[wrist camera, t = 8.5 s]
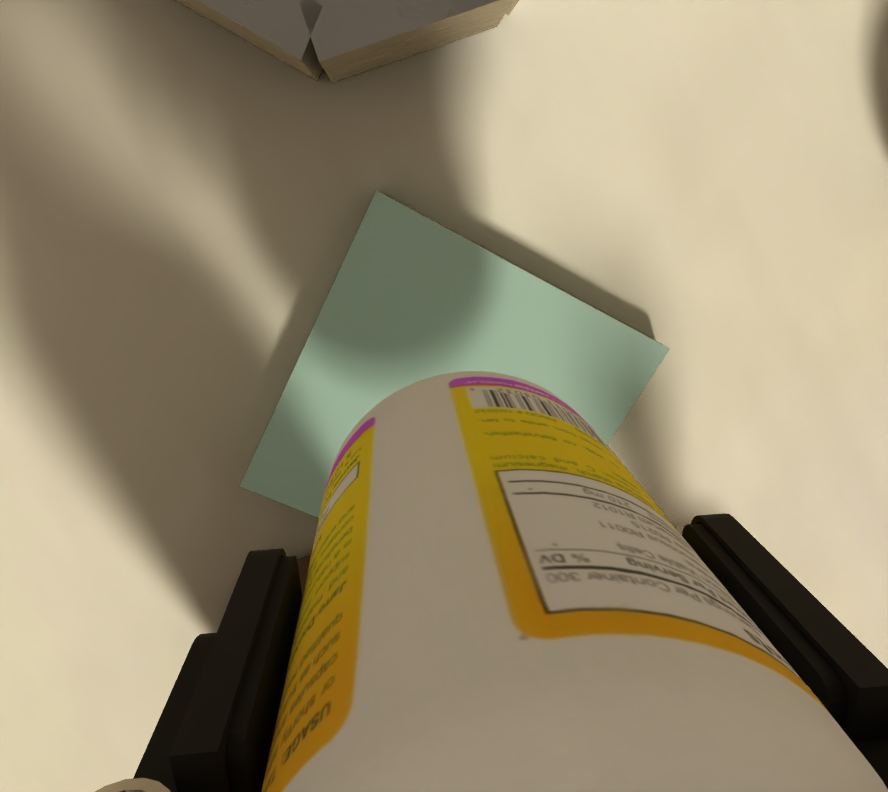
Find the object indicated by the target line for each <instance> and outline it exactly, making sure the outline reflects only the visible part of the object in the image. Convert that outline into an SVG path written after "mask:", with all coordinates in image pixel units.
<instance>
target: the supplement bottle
mask: <svg viewBox="0 0 888 792" xmlns="http://www.w3.org/2000/svg"><path fill="white" fill-rule="evenodd" d="M261 792H888V789H887V787H886V786H885V784H884V783H883V781H882V779H881V778H880V777H879V775H878V774H877V773H876V771H875V770H874V769H873V767H872V766H871V765H870V763H869V762H868V761H867V760H866V758H865V757H864V756H863V755H862V753H861V752H860V751H859V750H858V748H857V747H856V746H855V745H854V743H853V742H852V741H851V740H850V738H849V737H848V736H847V735H846V733H845V732H844V731H843V730H842V728H841V727H840V726H839V724H838V723H837V722H836V721H835V719H834V718H833V717H832V715H831V714H830V713H829V712H828V710H827V709H826V708H825V707H824V705H823V704H822V703H821V701H820V700H819V699H818V698H817V697H816V696H815V694H814V693H813V692H812V691H811V689H810V688H809V687H808V686H807V685H806V684H805V683H804V682H803V680H802V679H801V678H800V677H799V675H798V674H797V673H796V672H795V671H794V669H793V668H792V667H791V666H790V665H789V664H788V662H787V661H786V660H785V659H784V658H783V656H782V655H781V654H780V653H779V652H778V651H777V650H776V648H775V647H774V646H773V645H772V644H771V643H770V641H769V640H768V639H767V637H766V636H765V635H764V634H763V633H762V631H761V630H760V629H759V628H758V627H757V625H756V624H755V623H754V622H753V621H752V619H751V618H750V617H749V616H748V615H747V614H746V612H745V611H744V610H743V609H742V608H741V606H740V605H739V604H738V603H737V602H736V600H735V599H734V598H733V597H732V596H731V594H730V593H729V592H728V591H727V590H726V588H725V587H724V586H723V585H722V584H721V582H720V581H719V580H718V579H717V578H716V577H715V575H714V574H713V573H712V572H711V571H710V569H709V568H708V567H707V566H706V565H705V563H704V562H703V561H702V560H701V559H700V557H699V556H698V555H697V553H696V552H695V551H694V550H693V549H692V547H691V546H690V545H689V544H688V543H687V542H686V540H685V539H684V538H683V536H682V535H681V534H680V533H679V532H678V530H677V529H676V528H675V527H674V526H673V524H672V523H671V522H670V521H669V520H668V518H667V517H666V516H665V515H664V514H663V512H662V511H661V510H660V509H659V507H658V506H657V505H656V504H655V502H654V501H653V500H652V499H651V497H650V496H649V495H648V494H647V493H646V491H645V490H644V489H643V488H642V487H641V486H640V485H639V483H638V482H637V481H636V480H635V479H634V477H633V476H632V475H631V473H630V472H629V471H628V470H627V468H626V467H625V466H624V465H623V464H622V462H621V461H620V460H619V459H618V458H617V456H616V455H615V454H614V453H613V452H612V451H611V449H610V448H609V447H608V446H607V445H606V443H605V442H604V441H603V440H602V439H601V437H600V436H599V435H598V434H597V433H596V432H595V431H594V429H593V428H592V427H591V426H590V425H589V424H588V423H587V422H586V421H585V420H584V419H583V418H582V417H581V416H580V415H579V414H578V413H577V412H576V411H575V410H574V409H573V408H572V407H570V406H569V405H568V404H567V403H566V402H564V401H563V400H562V399H560V398H559V397H557V396H556V395H555V394H553V393H552V392H550V391H548V390H546V389H545V388H543V387H541V386H539V385H537V384H534V383H532V382H529V381H527V380H524V379H521V378H518V377H514V376H510V375H506V374H500V373H495V372H485V371H462V372H453V373H446V374H441V375H437V376H433V377H430V378H426V379H423V380H420V381H417V382H415V383H413V384H410V385H408V386H406V387H404V388H402V389H400V390H398V391H396V392H395V393H393V394H391V395H390V396H388V397H387V398H385V399H384V400H382V401H381V402H380V403H378V404H377V405H376V406H375V407H374V408H372V409H371V410H370V411H369V412H368V413H367V414H366V415H365V416H364V417H363V418H362V419H361V420H360V421H359V422H358V423H357V424H356V426H355V427H354V428H353V429H352V431H351V432H350V433H349V435H348V436H347V438H346V439H345V441H344V442H343V444H342V446H341V448H340V450H339V452H338V453H337V455H336V458H335V460H334V463H333V465H332V468H331V470H330V474H329V477H328V481H327V485H326V489H325V493H324V497H323V501H322V506H321V511H320V515H319V520H318V525H317V530H316V534H315V539H314V544H313V549H312V554H311V558H310V563H309V568H308V573H307V578H306V583H305V588H304V592H303V597H302V602H301V607H300V611H299V616H298V621H297V626H296V630H295V635H294V640H293V644H292V649H291V654H290V659H289V664H288V669H287V674H286V679H285V684H284V689H283V693H282V698H281V702H280V707H279V711H278V716H277V720H276V725H275V729H274V734H273V739H272V744H271V748H270V753H269V758H268V763H267V767H266V772H265V777H264V782H263V786H262V790H261Z"/></svg>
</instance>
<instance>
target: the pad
mask: <svg viewBox="0 0 888 792" xmlns="http://www.w3.org/2000/svg"><path fill="white" fill-rule="evenodd" d="M668 350H669V348H667V347H665V346H664V345H662V344H661V343H659V342H657V341H656V340H654V339H652V338H650V337H648V336H646V335H644V334H643V333H641V332H639V331H637V330H635V329H633V328H631V327H630V326H628V325H626V324H624V323H622V322H620V321H618V320H617V319H615V318H613V317H611V316H609V315H607V314H605V313H604V312H602V311H600V310H598V309H596V308H594V307H592V306H591V305H589V304H587V303H585V302H583V301H581V300H579V299H578V298H576V297H574V296H572V295H570V294H568V293H566V292H565V291H563V290H561V289H559V288H557V287H555V286H553V285H552V284H550V283H548V282H546V281H544V280H542V279H540V278H539V277H537V276H535V275H533V274H531V273H529V272H527V271H526V270H524V269H522V268H520V267H518V266H516V265H514V264H513V263H511V262H509V261H507V260H505V259H503V258H501V257H500V256H498V255H496V254H494V253H492V252H490V251H488V250H487V249H485V248H483V247H481V246H479V245H477V244H475V243H474V242H472V241H470V240H468V239H466V238H464V237H462V236H461V235H459V234H457V233H455V232H453V231H451V230H449V229H448V228H446V227H444V226H442V225H440V224H438V223H436V222H435V221H433V220H431V219H429V218H427V217H425V216H423V215H422V214H420V213H418V212H416V211H414V210H412V209H410V208H409V207H407V206H405V205H403V204H401V203H399V202H397V201H396V200H394V199H392V198H390V197H388V196H386V195H384V194H382V193H381V192H379V191H376V192H375V194H374V197H373V199H372V201H371V203H370V205H369V207H368V210H367V212H366V214H365V216H364V218H363V220H362V223H361V225H360V227H359V229H358V231H357V233H356V235H355V238H354V240H353V242H352V244H351V246H350V248H349V251H348V253H347V255H346V257H345V259H344V261H343V264H342V266H341V268H340V270H339V272H338V274H337V277H336V279H335V281H334V283H333V285H332V287H331V290H330V292H329V294H328V296H327V298H326V300H325V303H324V305H323V307H322V309H321V311H320V313H319V316H318V318H317V320H316V322H315V324H314V326H313V329H312V331H311V333H310V335H309V337H308V339H307V341H306V344H305V346H304V348H303V350H302V352H301V354H300V357H299V359H298V361H297V363H296V365H295V367H294V370H293V372H292V374H291V376H290V378H289V380H288V383H287V385H286V387H285V389H284V391H283V393H282V396H281V398H280V400H279V402H278V404H277V406H276V409H275V411H274V413H273V415H272V417H271V419H270V422H269V424H268V426H267V428H266V430H265V432H264V435H263V437H262V439H261V441H260V443H259V445H258V447H257V450H256V452H255V454H254V456H253V458H252V460H251V463H250V465H249V467H248V469H247V471H246V473H245V476H244V478H243V480H242V482H241V484H240V487H242V488H245V489H247V490H250V491H252V492H255V493H257V494H260V495H262V496H265V497H267V498H270V499H272V500H275V501H277V502H280V503H282V504H285V505H287V506H290V507H292V508H295V509H297V510H300V511H302V512H305V513H307V514H310V515H312V516H315V517H317V518H319V515H320V511H321V506H322V501H323V497H324V493H325V489H326V485H327V481H328V477H329V474H330V470H331V468H332V465H333V463H334V460H335V458H336V455H337V453H338V452H339V450H340V448H341V446H342V444H343V442H344V441H345V439H346V438H347V436H348V435H349V433H350V432H351V431H352V429H353V428H354V427H355V426H356V424H357V423H358V422H359V421H360V420H361V419H362V418H363V417H364V416H365V415H366V414H367V413H368V412H369V411H370V410H371V409H372V408H374V407H375V406H376V405H377V404H378V403H380V402H381V401H382V400H384V399H385V398H387V397H388V396H390V395H391V394H393V393H395V392H396V391H398V390H400V389H402V388H404V387H406V386H408V385H410V384H413V383H415V382H417V381H420V380H423V379H426V378H430V377H433V376H437V375H441V374H446V373H453V372H462V371H485V372H495V373H500V374H506V375H510V376H514V377H518V378H521V379H524V380H527V381H529V382H532V383H534V384H537V385H539V386H541V387H543V388H545V389H546V390H548V391H550V392H552V393H553V394H555V395H556V396H557V397H559V398H560V399H562V400H563V401H564V402H566V403H567V404H568V405H569V406H570V407H572V408H573V409H574V410H575V411H576V412H577V413H578V414H579V415H580V416H581V417H582V418H583V419H584V420H585V421H586V422H587V423H588V424H589V425H590V426H591V427H592V428H593V429H594V431H595V432H596V433H597V434H598V435H599V436H600V437H601V439H602V440H603V441H604V442H605V443H606V445H608V443H609V442H610V440H611V439H612V437H613V436H614V434H615V432H616V431H617V429H618V428H619V426H620V425H621V423H622V422H623V420H624V418H625V417H626V415H627V414H628V412H629V411H630V409H631V408H632V406H633V405H634V403H635V401H636V400H637V398H638V397H639V395H640V394H641V392H642V391H643V389H644V388H645V386H646V384H647V383H648V381H649V380H650V378H651V377H652V375H653V374H654V372H655V370H656V369H657V367H658V366H659V364H660V363H661V361H662V360H663V358H664V357H665V355H666V353H667V352H668Z"/></svg>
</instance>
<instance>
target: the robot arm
mask: <svg viewBox="0 0 888 792" xmlns="http://www.w3.org/2000/svg"><path fill="white" fill-rule="evenodd" d="M682 536H683V538H684V539H685V540H686V542H687V543H688V544H689V545H690V546H691V547H692V549H693V550H694V551H695V552H696V553H697V555H698V556H699V557H700V559H701V560H702V561H703V562H704V563H705V565H706V566H707V567H708V568H709V569H710V571H711V572H712V573H713V574H714V575H715V577H716V578H717V579H718V580H719V581H720V582H721V584H722V585H723V586H724V587H725V588H726V590H727V591H728V592H729V593H730V594H731V596H732V597H733V598H734V599H735V600H736V602H737V603H738V604H739V605H740V606H741V608H742V609H743V610H744V611H745V612H746V614H747V615H748V616H749V617H750V618H751V619H752V621H753V622H754V623H755V624H756V625H757V627H758V628H759V629H760V630H761V631H762V633H763V634H764V635H765V636H766V637H767V639H768V640H769V641H770V643H771V644H772V645H773V646H774V647H775V648H776V650H777V651H778V652H779V653H780V654H781V655H782V656H783V658H784V659H785V660H786V661H787V662H788V664H789V665H790V666H791V667H792V668H793V669H794V671H795V672H796V673H797V674H798V675H799V677H800V678H801V679H802V680H803V682H804V683H805V684H806V685H807V686H808V687H809V688H810V689H811V691H812V692H813V693H814V694H815V696H816V697H817V698H818V699H819V700H820V701H821V703H822V704H823V705H824V707H825V708H826V709H827V710H828V712H829V713H830V714H831V715H832V717H833V718H834V719H835V721H836V722H837V723H838V724H839V726H840V727H841V728H842V730H843V731H844V732H845V733H846V735H847V736H848V737H849V738H850V740H851V741H852V742H853V743H854V745H855V746H856V747H857V748H858V750H859V751H860V752H861V753H862V755H863V756H864V757H865V758H866V760H867V761H868V762H869V763H870V765H871V766H872V767H873V769H874V770H875V771H876V773H877V774H878V775H879V777H880V778H881V779H882V781H883V783H884V784H885V786H886V787H887V789H888V669H887V668H886V667H885V666H884V665H883V664H882V663H881V662H880V661H879V660H878V659H877V658H876V657H875V656H874V655H873V654H872V653H871V652H870V651H869V650H868V649H867V648H866V647H865V646H864V645H863V644H862V643H861V642H860V641H859V640H858V639H857V638H856V637H855V636H854V635H853V634H852V633H851V632H850V631H849V630H848V629H847V628H846V627H845V626H844V625H843V624H842V623H841V622H840V621H839V620H838V619H836V618H835V617H834V616H833V615H832V614H831V613H830V612H829V611H828V610H827V609H826V608H825V607H824V606H823V605H822V604H821V603H820V602H819V601H818V600H817V599H816V598H815V597H814V596H813V595H812V594H811V593H810V592H809V591H808V590H807V589H806V588H805V587H804V586H803V585H802V584H801V583H800V582H799V581H798V580H797V579H796V578H795V577H794V576H793V575H792V574H791V573H790V572H789V571H788V570H787V569H786V568H785V567H783V566H782V565H781V564H780V563H779V562H778V561H777V560H776V559H775V558H774V557H773V556H772V555H771V554H770V553H769V552H768V551H767V550H766V549H765V548H764V547H763V546H762V545H761V544H760V543H759V542H758V541H757V540H756V539H755V538H754V537H753V536H752V535H751V534H750V533H749V532H748V531H747V530H746V529H745V528H744V527H743V526H742V525H741V524H740V523H739V522H738V521H737V520H736V519H735V518H734V517H732V516H731V515H730V514H713V515H700V516H696V517H694V518H693V520H692V522H691V524H689V525H686V526H685V527H684V529H683V533H682ZM302 597H303V596H302V590H301V583H300V576H299V569H298V562H297V558H296V557H295V556H289V557H286V554H285V551H284V549H270V550H258V551H250V552H249V554H248V556H247V558H246V561H245V563H244V566H243V568H242V571H241V573H240V576H239V578H238V581H237V583H236V586H235V588H234V591H233V594H232V596H231V599H230V601H229V604H228V606H227V609H226V611H225V614H224V616H223V619H222V621H221V624H220V626H219V629H218V631H217V633H208V634H200V635H199V636H197V637H196V639H195V640H194V642H193V644H192V646H191V648H190V651H189V653H188V655H187V657H186V660H185V662H184V664H183V666H182V669H181V671H180V673H179V676H178V678H177V680H176V682H175V685H174V687H173V689H172V691H171V694H170V696H169V698H168V701H167V703H166V705H165V707H164V710H163V712H162V714H161V717H160V719H159V721H158V723H157V726H156V728H155V730H154V732H153V735H152V737H151V739H150V742H149V744H148V746H147V748H146V751H145V753H144V755H143V757H142V760H141V762H140V764H139V767H138V769H137V771H136V773H135V776H134V778H133V779H125V780H122V781H119V782H116V783H113V784H110V785H107V786H104V787H103V788H101V789H99V790H97V791H95V792H261V790H262V786H263V782H264V777H265V772H266V767H267V763H268V758H269V753H270V748H271V744H272V739H273V734H274V729H275V725H276V720H277V716H278V711H279V707H280V702H281V698H282V693H283V689H284V684H285V679H286V674H287V669H288V664H289V659H290V654H291V649H292V644H293V640H294V635H295V630H296V626H297V621H298V616H299V611H300V607H301V602H302Z"/></svg>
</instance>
